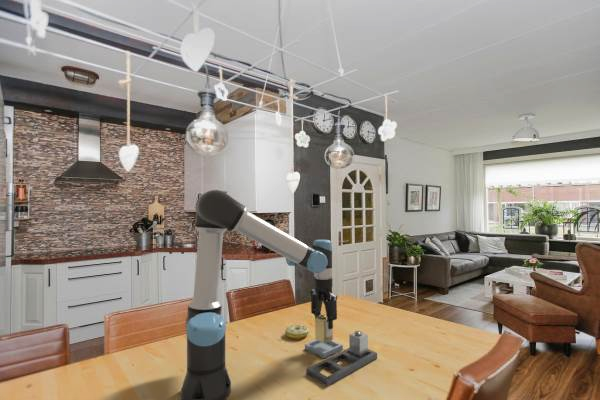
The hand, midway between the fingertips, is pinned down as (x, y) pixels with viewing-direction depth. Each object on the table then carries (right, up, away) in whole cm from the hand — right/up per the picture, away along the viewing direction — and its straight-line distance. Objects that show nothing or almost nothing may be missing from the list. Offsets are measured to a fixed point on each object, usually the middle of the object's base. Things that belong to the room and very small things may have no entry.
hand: (323, 334), depth 127 cm
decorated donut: (-11, -7, +14) cm, 19 cm away
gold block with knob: (0, -2, 0) cm, 2 cm away
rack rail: (+6, -6, -13) cm, 16 cm away
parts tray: (0, -6, 0) cm, 6 cm away
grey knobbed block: (+13, -6, -7) cm, 16 cm away
